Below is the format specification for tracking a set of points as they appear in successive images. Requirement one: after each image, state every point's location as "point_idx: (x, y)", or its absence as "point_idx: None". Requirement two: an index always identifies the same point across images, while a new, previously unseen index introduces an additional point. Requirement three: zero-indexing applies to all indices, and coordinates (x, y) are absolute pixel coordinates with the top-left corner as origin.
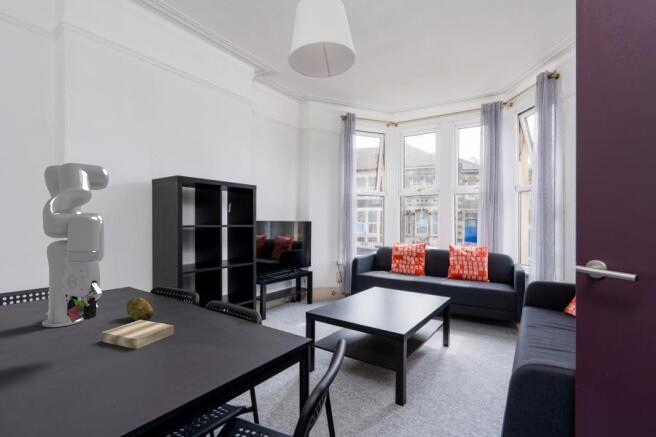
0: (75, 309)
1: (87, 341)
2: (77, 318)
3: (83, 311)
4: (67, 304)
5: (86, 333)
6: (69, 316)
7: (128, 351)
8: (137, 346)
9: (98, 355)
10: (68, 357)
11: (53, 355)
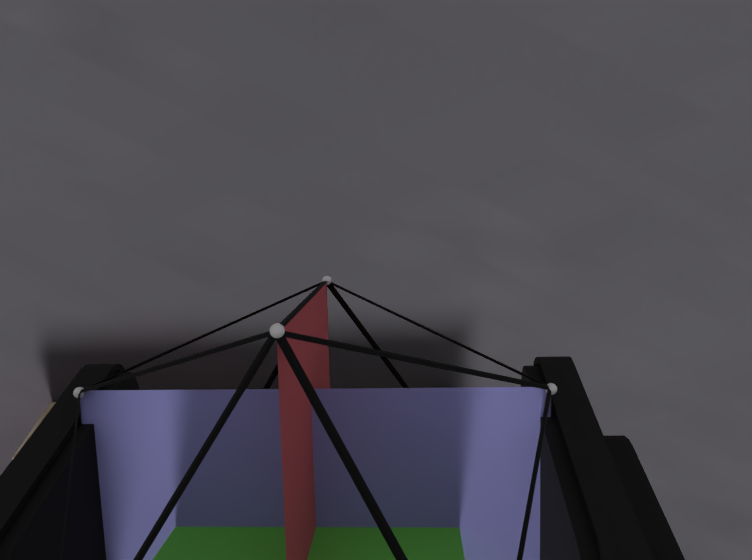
0: (300, 466)
1: (562, 351)
2: (328, 368)
3: (44, 465)
4: (627, 531)
5: (744, 435)
6: (442, 337)
7: (56, 358)
8: (42, 418)
9: (163, 228)
10: (343, 97)
11: (524, 61)
